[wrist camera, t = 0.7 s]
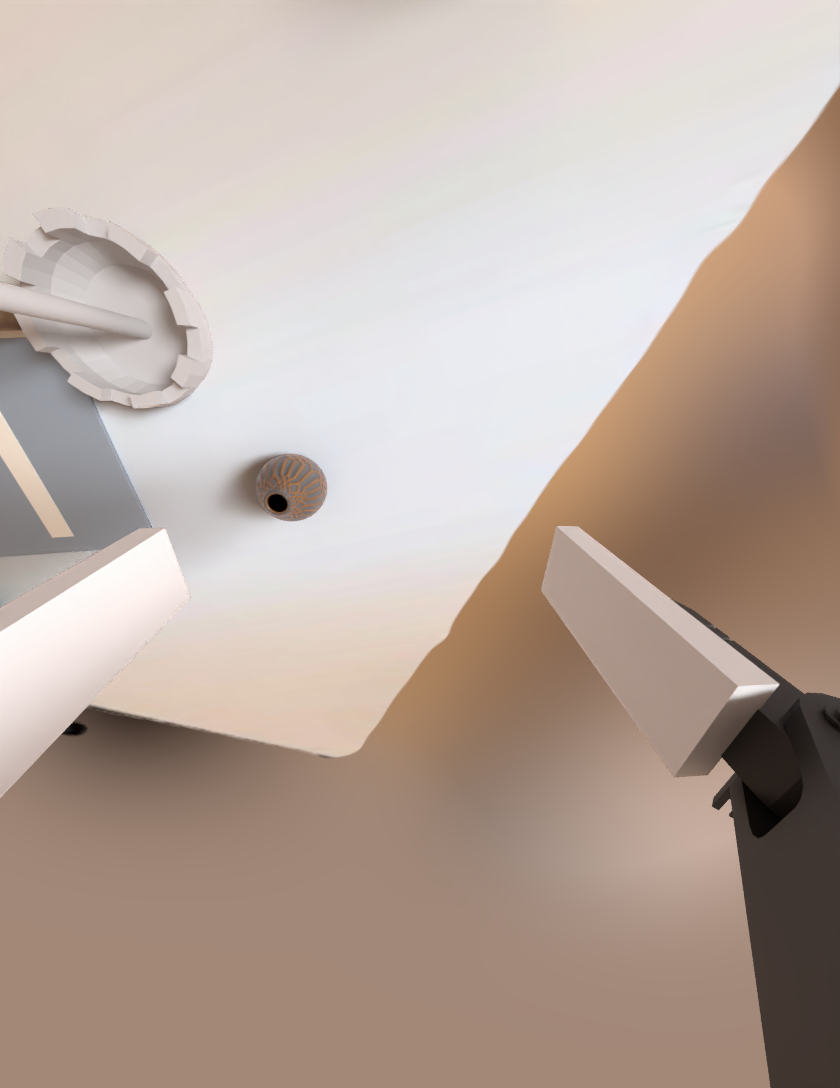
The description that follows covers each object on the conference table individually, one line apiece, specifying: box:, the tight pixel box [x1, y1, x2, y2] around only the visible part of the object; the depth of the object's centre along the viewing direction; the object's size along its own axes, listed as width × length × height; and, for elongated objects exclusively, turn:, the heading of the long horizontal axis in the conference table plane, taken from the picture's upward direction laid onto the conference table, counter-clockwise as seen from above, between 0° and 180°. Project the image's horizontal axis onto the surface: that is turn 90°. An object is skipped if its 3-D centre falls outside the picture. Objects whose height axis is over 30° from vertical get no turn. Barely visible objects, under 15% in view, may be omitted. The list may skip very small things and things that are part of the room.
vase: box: [256, 454, 327, 521], centre depth 33 cm, size 7×7×9 cm
